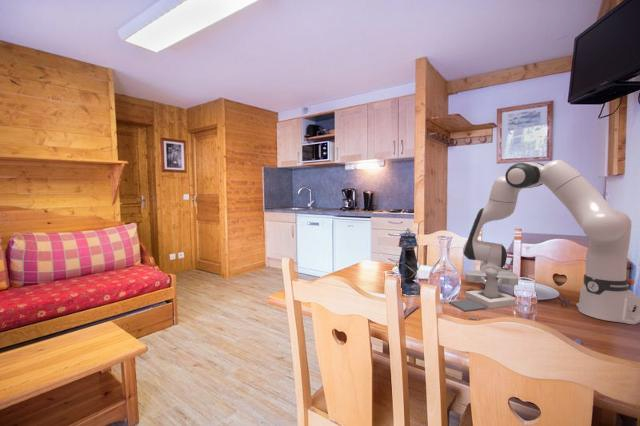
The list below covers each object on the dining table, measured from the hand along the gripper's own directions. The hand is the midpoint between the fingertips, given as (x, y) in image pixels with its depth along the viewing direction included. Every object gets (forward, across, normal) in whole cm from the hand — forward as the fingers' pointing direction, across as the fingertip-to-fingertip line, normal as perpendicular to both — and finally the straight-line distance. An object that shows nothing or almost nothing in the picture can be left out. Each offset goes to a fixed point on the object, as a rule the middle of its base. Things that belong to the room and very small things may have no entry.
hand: (491, 282), depth 130 cm
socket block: (-1, 0, +8) cm, 8 cm away
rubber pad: (+10, -9, +8) cm, 15 cm away
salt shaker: (-1, 0, +8) cm, 8 cm away
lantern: (+1, -34, +8) cm, 35 cm away
